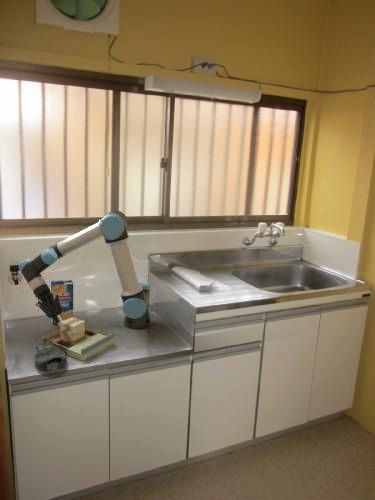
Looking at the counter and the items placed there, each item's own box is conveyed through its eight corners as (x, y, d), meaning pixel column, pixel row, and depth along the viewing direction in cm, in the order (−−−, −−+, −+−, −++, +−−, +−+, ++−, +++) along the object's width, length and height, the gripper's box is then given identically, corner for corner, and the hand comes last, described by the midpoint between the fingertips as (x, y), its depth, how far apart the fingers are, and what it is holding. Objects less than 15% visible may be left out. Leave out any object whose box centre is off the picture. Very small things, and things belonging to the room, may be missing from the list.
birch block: (60, 337, 203) (60, 322, 201) (72, 331, 210) (72, 317, 208) (72, 342, 199) (72, 326, 197) (84, 336, 206) (84, 321, 204)
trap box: (39, 343, 202) (39, 337, 201) (71, 328, 220) (71, 323, 219) (67, 354, 193) (67, 348, 192) (98, 338, 211) (98, 333, 210)
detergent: (70, 369, 181) (58, 343, 202) (68, 355, 179) (57, 330, 200) (38, 377, 175) (30, 349, 197) (36, 362, 173) (28, 336, 194)
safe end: (67, 354, 193) (67, 343, 192) (98, 338, 211) (98, 328, 210) (82, 361, 189) (83, 349, 187) (113, 344, 206) (113, 333, 205)
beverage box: (73, 322, 228) (73, 284, 222) (52, 324, 224) (51, 285, 218) (72, 317, 234) (72, 280, 229) (51, 319, 230) (50, 281, 224)
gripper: (46, 288, 217) (69, 326, 213) (25, 294, 206) (49, 335, 202) (53, 280, 213) (77, 319, 209) (32, 287, 202) (57, 328, 198)
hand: (63, 327), depth 205 cm, fingers closed
